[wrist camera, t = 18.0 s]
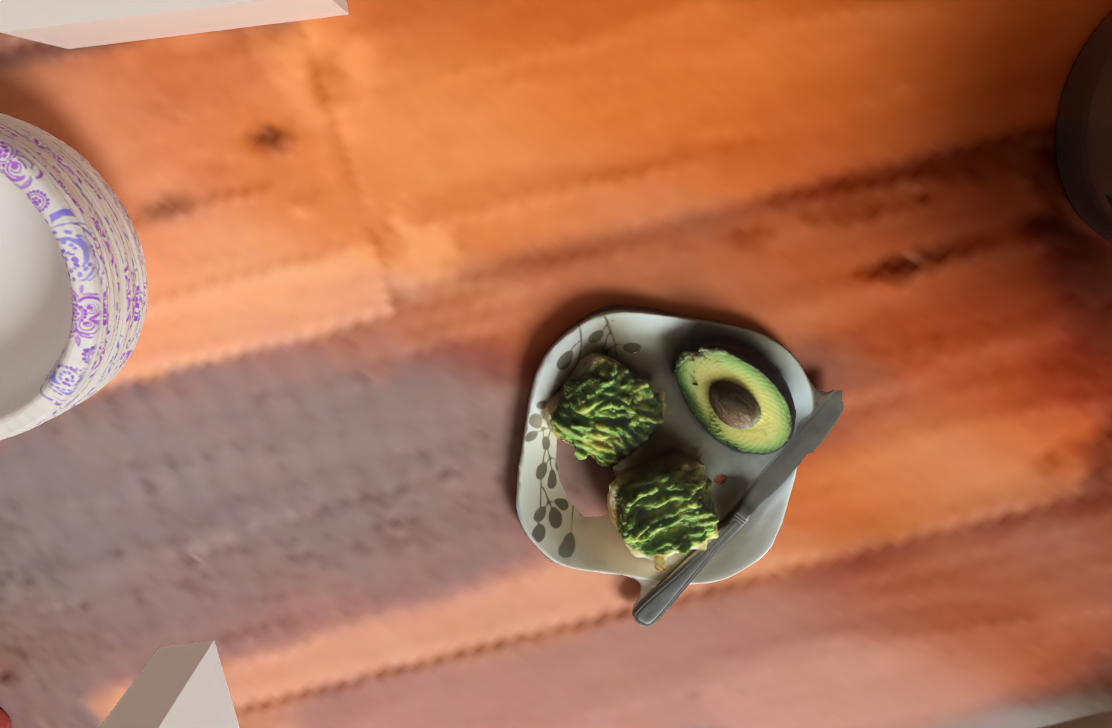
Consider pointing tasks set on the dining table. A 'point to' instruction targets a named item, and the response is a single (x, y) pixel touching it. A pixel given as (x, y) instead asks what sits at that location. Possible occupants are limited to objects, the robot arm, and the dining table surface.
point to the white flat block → (148, 18)
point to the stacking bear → (4, 720)
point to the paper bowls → (61, 278)
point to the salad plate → (667, 447)
